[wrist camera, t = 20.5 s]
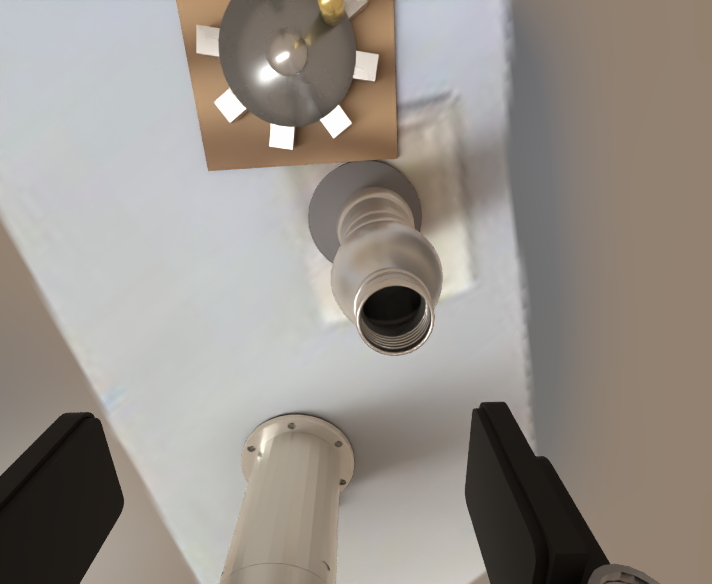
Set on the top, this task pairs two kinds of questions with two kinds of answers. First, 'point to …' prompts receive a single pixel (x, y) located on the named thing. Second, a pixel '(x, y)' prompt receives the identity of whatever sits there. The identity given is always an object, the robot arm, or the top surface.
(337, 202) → the pad
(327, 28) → the sprocket
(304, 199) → the top surface
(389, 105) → the base plate
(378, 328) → the plastic bottle
